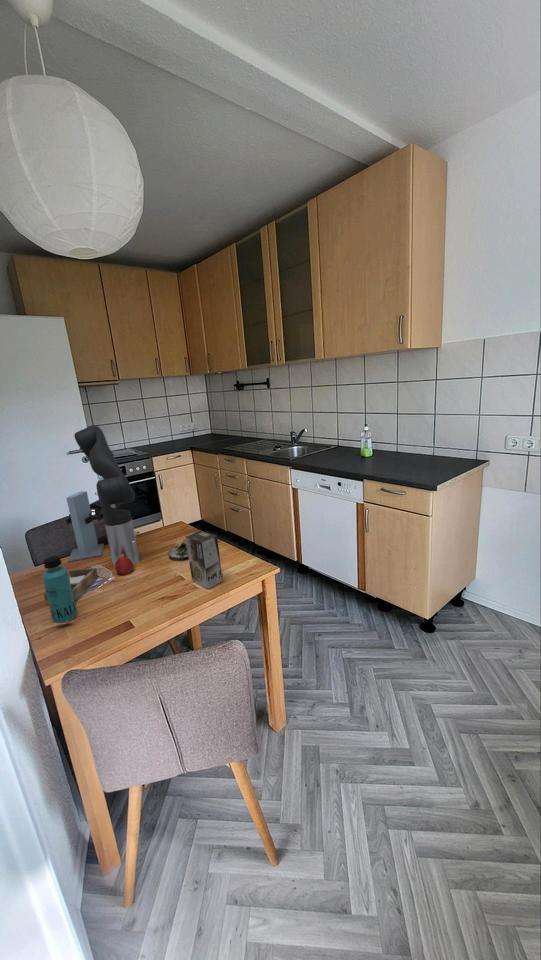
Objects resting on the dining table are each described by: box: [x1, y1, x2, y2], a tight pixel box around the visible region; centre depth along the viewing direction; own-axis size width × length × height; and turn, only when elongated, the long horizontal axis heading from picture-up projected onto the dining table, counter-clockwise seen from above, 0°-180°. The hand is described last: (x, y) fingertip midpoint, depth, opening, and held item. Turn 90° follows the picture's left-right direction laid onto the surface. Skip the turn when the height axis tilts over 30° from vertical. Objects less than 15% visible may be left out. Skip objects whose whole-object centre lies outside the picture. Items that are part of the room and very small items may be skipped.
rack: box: [43, 567, 99, 606], centre depth 123 cm, size 16×9×5 cm, turn 178°
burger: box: [167, 538, 188, 562], centre depth 146 cm, size 12×12×8 cm
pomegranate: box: [114, 554, 134, 576], centre depth 133 cm, size 6×6×8 cm
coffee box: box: [184, 530, 224, 590], centre depth 123 cm, size 9×6×16 cm
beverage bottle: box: [41, 555, 78, 624], centre depth 107 cm, size 6×7×20 cm
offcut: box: [69, 575, 85, 584], centre depth 126 cm, size 5×6×2 cm
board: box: [66, 490, 99, 555], centre depth 153 cm, size 8×3×24 cm, turn 168°
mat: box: [67, 543, 105, 563], centre depth 155 cm, size 12×12×1 cm
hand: (76, 521), depth 149 cm, fingers open, 8 cm apart
